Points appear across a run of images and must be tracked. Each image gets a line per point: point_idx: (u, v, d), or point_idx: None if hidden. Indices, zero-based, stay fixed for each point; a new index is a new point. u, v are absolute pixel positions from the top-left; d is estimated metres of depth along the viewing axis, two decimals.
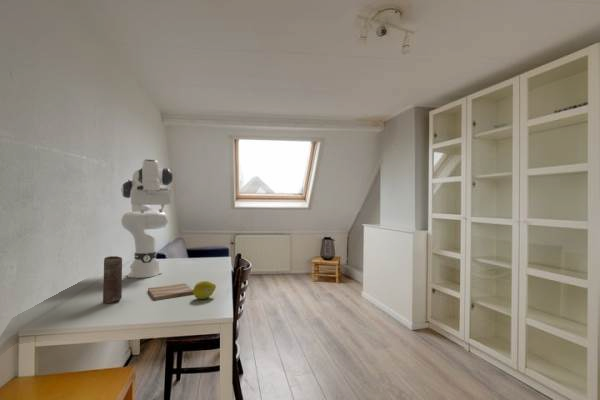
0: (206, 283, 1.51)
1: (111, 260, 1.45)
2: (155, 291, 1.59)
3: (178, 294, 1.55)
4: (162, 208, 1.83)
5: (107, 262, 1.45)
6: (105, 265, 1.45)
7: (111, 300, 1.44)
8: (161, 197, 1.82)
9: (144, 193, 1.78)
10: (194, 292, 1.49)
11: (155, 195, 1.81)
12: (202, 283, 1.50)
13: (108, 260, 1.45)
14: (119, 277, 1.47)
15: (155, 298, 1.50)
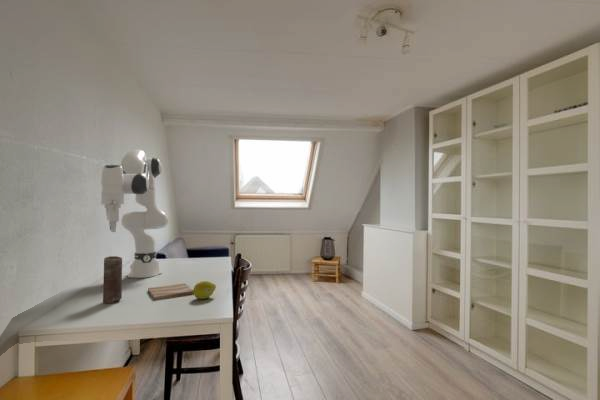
0: (206, 283, 1.51)
1: (111, 260, 1.45)
2: (155, 291, 1.59)
3: (178, 294, 1.55)
4: (110, 226, 1.43)
5: (107, 262, 1.45)
6: (105, 265, 1.45)
7: (111, 300, 1.44)
8: None
9: None
10: (194, 292, 1.49)
11: None
12: (202, 283, 1.50)
13: (108, 260, 1.45)
14: (119, 277, 1.47)
15: (155, 298, 1.50)
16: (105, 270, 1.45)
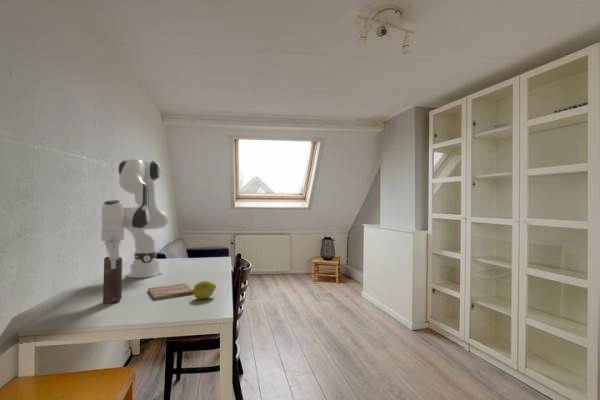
0: (206, 283, 1.51)
1: None
2: (155, 291, 1.59)
3: (178, 294, 1.55)
4: None
5: (107, 262, 1.44)
6: (105, 265, 1.45)
7: (111, 300, 1.44)
8: (108, 250, 1.43)
9: None
10: (194, 292, 1.49)
11: (108, 246, 1.45)
12: (202, 283, 1.50)
13: (108, 260, 1.44)
14: (119, 277, 1.47)
15: (155, 298, 1.50)
16: (105, 270, 1.45)
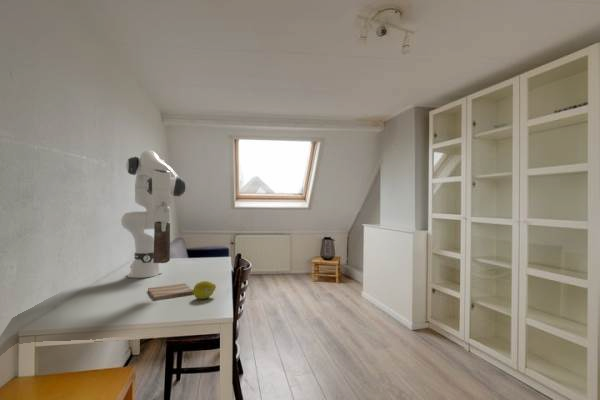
0: (206, 283, 1.51)
1: (161, 224, 1.57)
2: (155, 291, 1.59)
3: (178, 294, 1.55)
4: None
5: (158, 226, 1.57)
6: (156, 228, 1.57)
7: (161, 261, 1.56)
8: (159, 214, 1.55)
9: (156, 209, 1.62)
10: (194, 292, 1.49)
11: (159, 211, 1.57)
12: (202, 283, 1.50)
13: (159, 224, 1.57)
14: (168, 240, 1.59)
15: (155, 298, 1.50)
16: (156, 233, 1.57)
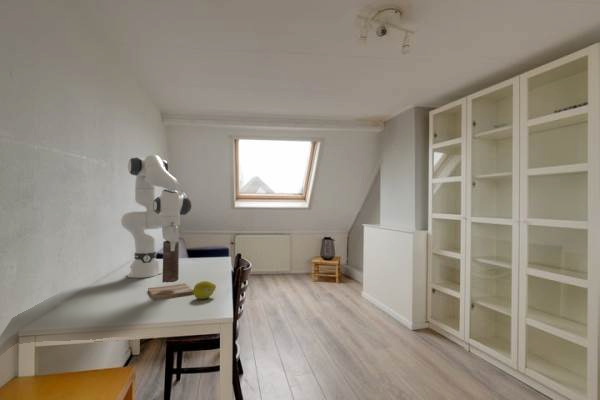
0: (206, 283, 1.51)
1: None
2: (155, 291, 1.59)
3: (178, 294, 1.55)
4: None
5: (167, 245, 1.59)
6: (165, 248, 1.59)
7: (170, 280, 1.59)
8: (168, 234, 1.57)
9: None
10: (194, 292, 1.49)
11: (168, 231, 1.60)
12: (202, 283, 1.50)
13: (168, 243, 1.59)
14: (177, 259, 1.61)
15: (155, 298, 1.50)
16: (165, 253, 1.59)
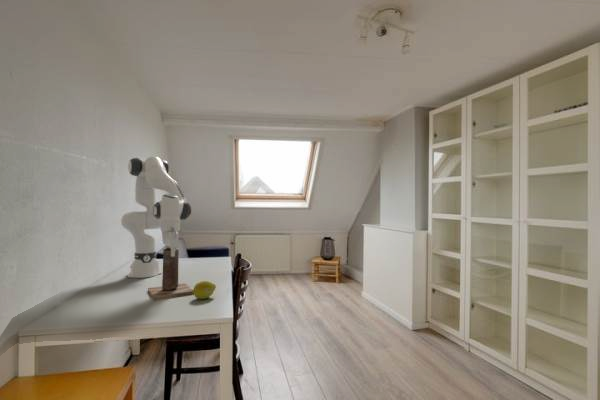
0: (206, 283, 1.51)
1: (170, 251, 1.59)
2: (155, 291, 1.59)
3: (178, 294, 1.55)
4: None
5: (167, 253, 1.59)
6: (165, 256, 1.60)
7: (170, 287, 1.59)
8: (168, 239, 1.57)
9: None
10: (194, 292, 1.49)
11: (168, 236, 1.60)
12: (202, 283, 1.50)
13: (167, 251, 1.59)
14: (176, 267, 1.62)
15: (155, 298, 1.50)
16: (165, 260, 1.60)
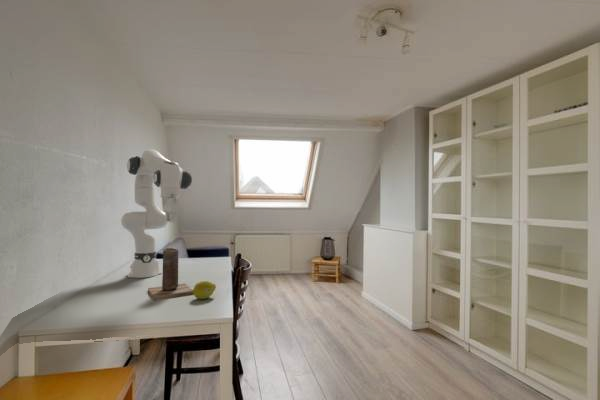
0: (206, 283, 1.51)
1: (170, 251, 1.60)
2: (155, 291, 1.59)
3: (178, 294, 1.55)
4: None
5: (166, 253, 1.59)
6: (164, 256, 1.60)
7: (170, 287, 1.59)
8: (168, 205, 1.57)
9: (164, 200, 1.64)
10: (194, 292, 1.49)
11: (168, 202, 1.60)
12: (202, 283, 1.50)
13: (167, 251, 1.59)
14: (176, 267, 1.62)
15: (155, 298, 1.50)
16: (164, 260, 1.60)
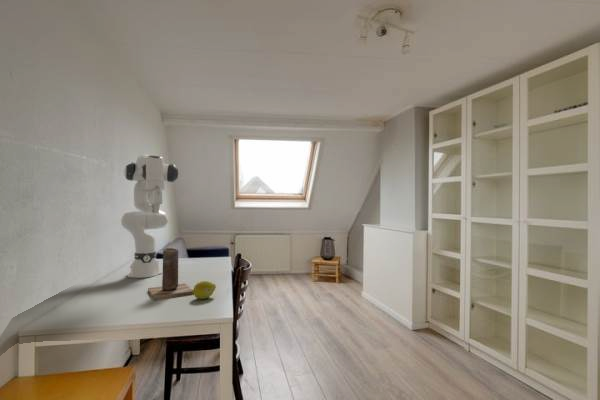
0: (206, 283, 1.51)
1: (170, 251, 1.60)
2: (155, 291, 1.59)
3: (178, 294, 1.55)
4: (155, 208, 1.65)
5: (166, 253, 1.59)
6: (164, 256, 1.60)
7: (170, 287, 1.59)
8: (153, 196, 1.65)
9: (149, 192, 1.72)
10: (194, 292, 1.49)
11: (152, 194, 1.68)
12: (202, 283, 1.50)
13: (167, 251, 1.59)
14: (176, 267, 1.62)
15: (155, 298, 1.50)
16: (164, 260, 1.60)
